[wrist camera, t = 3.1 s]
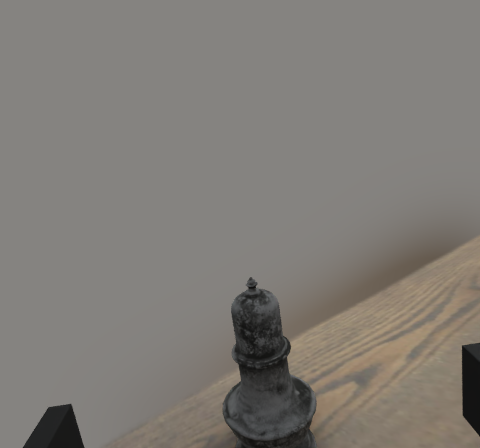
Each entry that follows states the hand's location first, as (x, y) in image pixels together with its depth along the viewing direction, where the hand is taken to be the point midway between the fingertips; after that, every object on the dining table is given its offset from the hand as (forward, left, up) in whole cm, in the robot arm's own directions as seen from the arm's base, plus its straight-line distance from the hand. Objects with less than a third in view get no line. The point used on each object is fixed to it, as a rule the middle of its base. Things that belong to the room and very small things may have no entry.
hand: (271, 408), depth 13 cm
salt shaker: (0, +10, -11) cm, 15 cm away
